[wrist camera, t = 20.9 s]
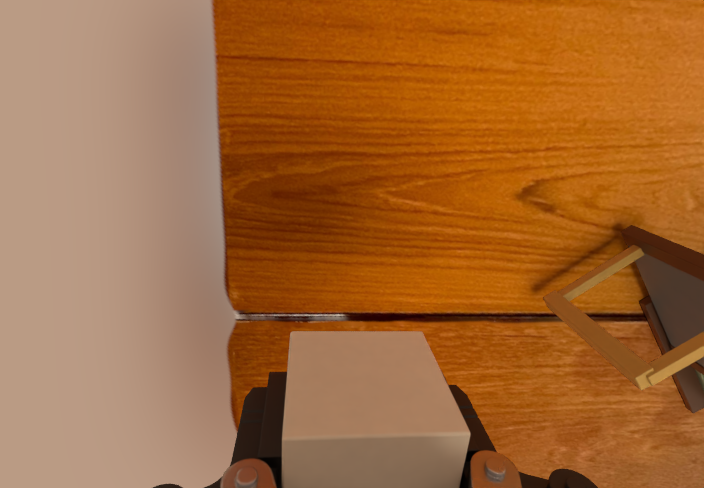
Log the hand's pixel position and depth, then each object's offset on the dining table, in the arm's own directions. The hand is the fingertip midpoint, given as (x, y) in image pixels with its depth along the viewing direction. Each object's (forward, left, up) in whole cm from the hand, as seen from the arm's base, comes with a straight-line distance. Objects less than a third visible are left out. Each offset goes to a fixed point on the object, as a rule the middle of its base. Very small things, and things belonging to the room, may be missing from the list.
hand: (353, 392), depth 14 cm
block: (0, 0, 0) cm, 0 cm away
